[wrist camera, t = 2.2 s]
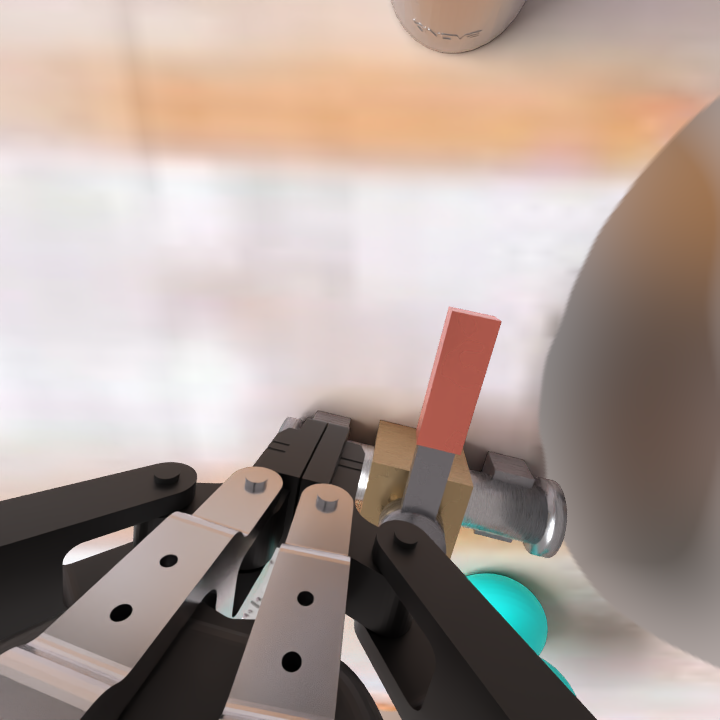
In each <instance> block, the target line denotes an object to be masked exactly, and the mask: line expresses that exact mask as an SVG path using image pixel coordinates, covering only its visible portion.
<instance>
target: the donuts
mask: <svg viewBox="0 0 720 720" xmlns="http://www.w3.org/2000/svg"><path fill="white" fill-rule="evenodd" d="M466 577H467V578H468V579H469V580H470V582H471V583H472V584H473V585H474V586H475V587H476V588H477V589H478V590H479V591H480V592H481V594H482V595H483V596H484V597H485V598H486V599H487V600H488V601H489V602H490V603H491V605H492V606H493V607H494V608H495V609H496V610H497V611H498V612H499V613H500V614H501V615H502V617H503V618H504V619H505V620H506V621H507V622H508V623H509V624H510V625H511V626H512V627H513V629H514V630H515V631H516V632H517V633H518V634H519V635H520V636H521V637H522V638H523V639H524V641H525V642H526V643H527V644H528V645H529V646H530V647H531V648H532V649H533V650H534V651H535V653H536V654H537V655H538V656H539V655H540V653H541V651H542V649H543V648H544V645H545V643H546V639H547V632H548V626H547V619H546V615H545V613H544V610H543V608H542V606H541V604H540V602H539V601H538V600H537V598H536V597H535V596H534V594H533V593H532V592H531V591H530V590H529V589H527V588H526V587H525V586H523V585H522V584H520V583H519V582H517V581H515V580H513V579H511V578H508V577H506V576H502V575H498V574H490V573H481V574H473V575H469V576H466ZM541 659H542V658H541ZM542 660H543V661H544V662H545V663H546V665H547V666H548V667H549V668H550V669H551V670H552V671H553V672H554V673H555V674H556V675H557V677H558V678H559V679H560V680H561V681H562V682H563V683H564V684H565V685H566V686H567V688H568V689H569V690H570V691H571V692H572V693H573V694H574V695H575V693H574V691H573V689H572V688H571V686H570V685H569V683H568V682H567V680H566V679H565V678H564V677H563V675H562V674H561V673H560V672H559V671H558V670H557V669H556V668H555V667H553V666H552V665H551V664H549V663H548V662H547V661H545V660H544V659H542ZM575 696H576V695H575Z"/></svg>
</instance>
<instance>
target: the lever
mask: <svg viewBox="0 0 720 720" xmlns="http://www.w3.org/2000/svg"><path fill="white" fill-rule="evenodd" d="M501 322H502V321H500V320H499V319H497V318H496V317H495V316H491V315H486V314H481V313H477V312H472V311H467V310H463V309H458V308H453V307H449V308H448V312H447V316H446V319H445V323H444V327H443V331H442V335H441V338H440V342H439V346H438V350H437V353H436V357H435V361H434V365H433V369H432V372H431V376H430V380H429V384H428V388H427V391H426V395H425V399H424V403H423V406H422V410H421V414H420V418H419V422H418V425H417V429H416V449H415V452H414V456H413V460H412V464H411V467H410V471H409V475H408V479H407V482H406V486H405V490H404V494H403V497H402V498H399V499H396V500H394V501H392V502H390V503H389V504H387V505H386V506H385V507H384V509H383V510H382V512H381V514H380V516H379V521H378V527H379V526H380V525H381V524H383V523H384V522H387V521H391V520H402V521H406V522H409V523H412V524H414V525H416V526H418V527H419V528H421V529H422V530H423V531H424V532H425V533H426V534H427V535H428V536H429V537H430V538H431V539H432V540H433V541H434V542H435V543H436V544H437V546H438V547H439V548H440V549H441V550H442V551H443V552H444V553H445V554H446V542H445V534H444V525H443V520H442V517H441V515H440V513H439V512H438V510H439V507H440V503H441V500H442V497H443V493H444V490H445V487H446V483H447V480H448V477H449V473H450V470H451V467H452V464H453V460H454V457H455V454H458V455H461V452H462V449H463V445H464V442H465V439H466V436H467V432H468V429H469V426H470V423H471V419H472V416H473V413H474V410H475V406H476V403H477V400H478V397H479V393H480V390H481V387H482V384H483V380H484V377H485V374H486V370H487V367H488V364H489V361H490V357H491V354H492V351H493V348H494V344H495V341H496V338H497V335H498V331H499V328H500V325H501Z"/></svg>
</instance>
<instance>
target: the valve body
mask: <svg viewBox="0 0 720 720" xmlns="http://www.w3.org/2000/svg"><path fill="white" fill-rule="evenodd" d="M313 419H316V420H320V421H324V422H328V424H329V423H333V424H337V425H341V426H345V427H349V426H350V421H351V419H350V418H346V417H342V416H338V415H334V414H329V413H325V412H321V411H317V413H316V414H315V416H314V418H313ZM302 425H303V422H302V420H300V419H296V418H292V417H288V418H286V420H285V421H284V422H283V424H282V426H281V428H280V430H279V432H281V431H283V430H285V429H287V428H293V429H297V430H300V428H301V427H302ZM279 432H278V433H279ZM347 442H351V443H355V444H359V445H361V446H362V448H363V450H364V452H365V458H364V462H363V467H362V471H361V476H360V480H359V485H358V489H357V493H356V498H355V499H356V500H360V501H362V502H361V507H360V512H359V513H360V515H361V516H362V517H363V518H364V519H366V520H367V521H368V522H370V523H372V524H374V525H376V526H377V527H378V521H379V516H380V514H381V512H382V510H383V509H384V507H385V506H386V505H387V504H389V503H390V502H392V501H394V500H396V499H399V498H402V497H403V494H404V490H405V486H406V482H407V479H408V475H409V471H410V467H411V464H412V460H413V456H414V452H415V449H416V429H415V428H411V427H407V426H403V425H399V424H394V423H390V422H386V421H382V420H380V423H379V427H378V432H377V436H376V440H375V445H374V446H371V445H367V444H363V443H359V442H355V441H351V440H347ZM438 512H439V513H440V515H441V517H442V520H443V525H444V534H445V542H446V555H447V556H448V558H449V559H450V558H451V555H452V551H453V548H454V545H455V542H456V539H457V536H458V533H459V530H460V527H461V526H462V527H466V528H470V529H473V530H474V534H478V535H482V536H486V537H490V538H494V539H498V540H502V541H506V542H510V543H511V542H512V539H513V540H517V541H521V542H523V544H524V546H525V548H526V550H527V551H528V552H529V553H530V554H533V555H537V556H541V557H545V558H550V557H552V556H554V555H555V554H556V553H557V552H558V550H559V548H560V546H561V544H562V542H563V539H564V535H565V530H566V523H567V508H566V501H565V497H564V493H563V491H562V489H561V487H560V486H559V484H558V483H557V482H555V481H553V480H549V479H545V478H541V477H537V478H534V477H533V476H532V474H531V472H530V470H529V468H528V467H527V465H526V463H525V461H524V460H522V459H518V458H514V457H510V456H505V455H501V454H497V453H493V452H489V451H488V454H487V457H486V460H485V463H484V466H483V469H482V472H478V471H474V470H470V469H469V468H468V464H467V461H466V457H465V453H464V450H463V449H462V452H461V455H458V454H455V457H454V460H453V464H452V467H451V470H450V473H449V477H448V480H447V483H446V487H445V490H444V493H443V497H442V500H441V503H440V507H439V510H438Z"/></svg>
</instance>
